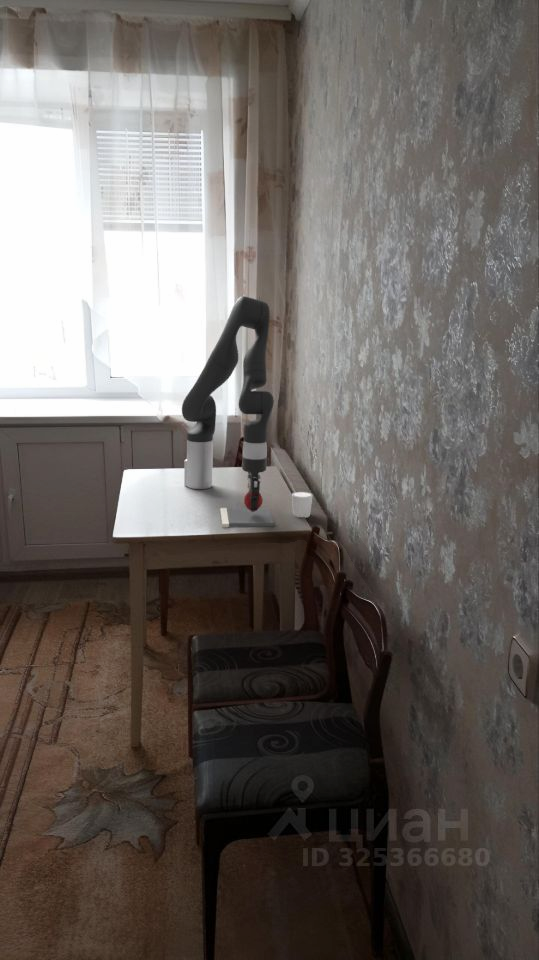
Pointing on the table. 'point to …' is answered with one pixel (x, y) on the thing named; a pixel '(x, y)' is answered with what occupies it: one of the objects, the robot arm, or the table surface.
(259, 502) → the onion
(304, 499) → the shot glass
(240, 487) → the table surface
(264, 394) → the robot arm
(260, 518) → the mat
